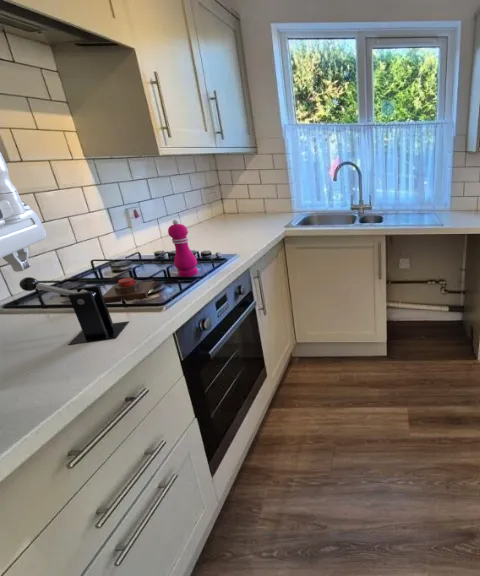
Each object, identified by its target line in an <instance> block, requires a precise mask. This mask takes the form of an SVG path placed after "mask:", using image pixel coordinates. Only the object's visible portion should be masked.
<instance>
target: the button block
mask: <svg viewBox="0 0 480 576" xmlns="http://www.w3.org/2000/svg"><path fill="white" fill-rule="evenodd" d="M134 282H135V284H133V285H130V286H125V287H120V286H119V283H118V282H117V283H116V284H114V285H112V286H111V287H110V288H109V289H108V290H107V291H106V292H105V293H104V294H102V295H103V297H104V300H105V303H106V304H114V303H121V297H123V298H124V299H125V300H126V301H125V302H129V301H135V300H134V299H139V300H144V299H143V298H147V295H148V292H149V290H150V289H152V288H153V287H154V286H156V287H157V285H156V282H155V280H153V281H144V282H141V280H139V279H134ZM147 299H148V298H147Z"/></svg>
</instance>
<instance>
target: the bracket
mask: <svg viewBox="0 0 480 576" xmlns="http://www.w3.org/2000/svg"><path fill="white" fill-rule="evenodd" d="M81 290H88V291H90V292H81V293H72V294H69V295H68V296H67V297H68V299H69V301H70V304H71V306H72V309H73V311H74V313H75V316H76V318H77V321H78V323H79V326H80V328H81V331H80V332H79V333H78V334H77V335H76V336H75V337H74V338H73V339H72V340H71V341H70V342H69V343H68V344H67V346H74V345H80V344H81V345H82V344H88V343H96V342H102V341H109V340H116V339H117V338H118V337H119V336H120V334H121V333H122V332H123V331H124V329H125V328H126V327H127V326H128V324H129V323H130V321H129V320H128V321H119V322H114V321H113V319H112V317H111V313H110V311H109V309H108V305H107V303H105V300H104V297H103V295H104V294H103V292H102V290H101V287H100V285H99V284H97V285H87V286H79V287H77V288H76V292H80V291H81ZM92 292H96V296H95V299H94V296H93V294H92Z"/></svg>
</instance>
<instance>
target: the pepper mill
mask: <svg viewBox="0 0 480 576" xmlns="http://www.w3.org/2000/svg"><path fill="white" fill-rule="evenodd" d="M188 234H189V230H188V228H187V226H186V225H184V224H182V223H179V220H178V219H173V220H172V224H171V225H170V226H169V227H168V228H167V235H168V236H169V237H170V238H172V239H171V241H172V244H173V245H174V249H175V254H174V259H173V260H174V261H173V263H174V266H175V268H176V269H178V271H177V273H178V276H179V277H180V278H189V277H194V276H196V275H198V274H199V270H198V267H196V266H197V265H198V259H197V257H196V256H195V254H194V253H193V252H192V250H191V249H190V246H189V243H188V242H189V237H188Z"/></svg>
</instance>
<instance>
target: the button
mask: <svg viewBox="0 0 480 576" xmlns="http://www.w3.org/2000/svg"><path fill="white" fill-rule="evenodd" d="M134 280H135V279H134V278H133V277H124V278H121V279H119V280H118V282H117V283H119V286H120V287H125V286H130V285H133V284H135V282H134Z"/></svg>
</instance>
